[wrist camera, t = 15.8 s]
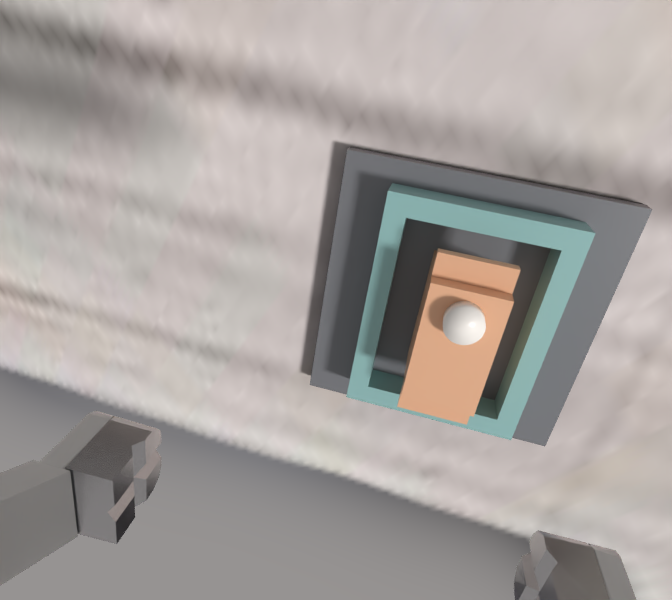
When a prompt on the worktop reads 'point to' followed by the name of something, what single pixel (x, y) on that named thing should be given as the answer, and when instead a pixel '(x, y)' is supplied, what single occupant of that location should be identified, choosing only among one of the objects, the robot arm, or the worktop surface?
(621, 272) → the plate
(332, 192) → the worktop surface
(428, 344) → the block
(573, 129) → the worktop surface
